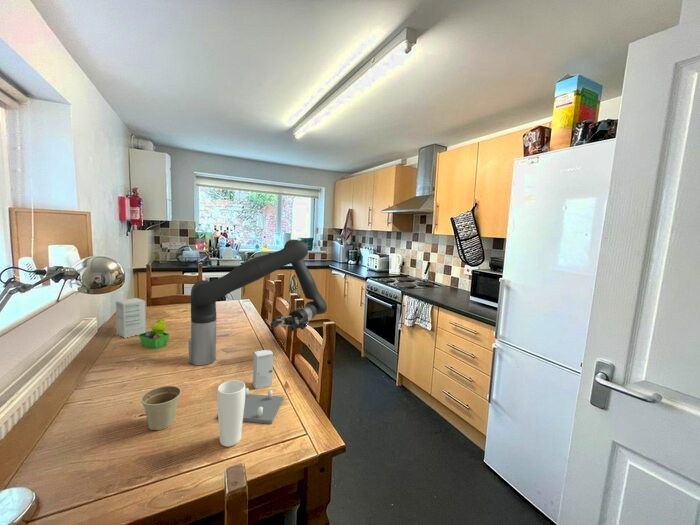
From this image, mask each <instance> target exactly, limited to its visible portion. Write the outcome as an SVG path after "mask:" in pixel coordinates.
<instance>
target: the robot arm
mask: <svg viewBox="0 0 700 525" xmlns="http://www.w3.org/2000/svg"><path fill="white" fill-rule="evenodd" d="M308 252H309V247H308V245H307V243H305V242H304V241H303V240H299V239H289V240H287V241H286V242H285V243H284V246H283V248H281V249H280V250H277V251H275V252H271V253H267V254H263V255H259V256H256V257H254V258H253V257H252V259H249V260H247V261H244V262H243V263H240V264H239V265H237V266H236V267H235V268H233V269H231V270H230V271H229V272H228V273H225V274H224V275H223V276H221V277H219V278H216V279H214V280H211V281H209V280H204V279H202V280H198V281H197V282H195V283H194V284H193V285H192V287H191V290H190V339H188V363H190V364H192V365H194V366H205V365H209V364H212V363H214V362H215V361H216V359H217V304H216V303H217V301H218V300H221V299H222V298H223V297H225V296H227V295H229V294H230V293H232V292H234V291H236V290H240V289H241V288H244V287H246V286H248V285H250V284H252V283H254V282H257V281H259V280H261V279H262V278H264V277H266V276H268V275H270V274H272V273H274V272H276V271H277V270H279V269H281V268H283V267H285V266H288V265H291V267H292V268H293V270H294V272H295V275H296V277H297V279H298V282H299V284H300V288H301V290H302V294H303V295H304V298H305V299H306V300H310V301H307V302H306V303H305V305H303V306H304V308H303V306H301V307H302V308H300V307H297V308H296V309H294V310H292V311H291V312H289V314H288V315H287V316H283V315H277V316H276V317H273V318H272V322H271V323H270V328H271V329H275V328H277V327H279V326H281V327H285V326H286V327H287V326H289V331H290V332H294V331H297V330H305V328H307V327H308V326H309V322H310V320H312V319H314V318H315V317H316V316H317V315H323V314H325V313H326V312H327V311H328V304H327V301H326V300H325V298H324V297H323V296H322V294H321V293H320V291H319V290H318V287H317V284H316V282H315V279H314V277H313V275H312V274H311V271H310V270H309V269H308V267H307V265H306V263H305V260H304V258H306V257H307V255H308ZM306 324H307V325H308V326H307V325H306Z"/></svg>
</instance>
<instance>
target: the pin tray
mask: <svg viewBox="0 0 700 525" xmlns="http://www.w3.org/2000/svg"><path fill="white" fill-rule="evenodd" d="M249 391H250V390H249V387H245V406H244V415H243V422H248V423H260V424H269V425H270V424H273V422H274V420H275V418H276V416H277V414H278V412H279V410H280V408H281V405H282V404H283V402H284V396H278V395H276V396H275V395H273V394H274V393H273V391H274V390H272V389H269V390H267V394H265V395H264V394H254V393H249Z"/></svg>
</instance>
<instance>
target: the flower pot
mask: <svg viewBox="0 0 700 525" xmlns="http://www.w3.org/2000/svg"><path fill="white" fill-rule="evenodd" d="M181 394H182V389H181V388H180V387H179V386H177V385H163V386H158V387H155V388H152V389H150V390H148V391H147V392H144V394H143V395H142V396H141V398H140V403H141V404H142V405H143V407H144V410H145V415H146V422H147V428H148V429H149V430H151V431H161V430H164V429H168V428H169V427H171V426H172V424H173V423H174V422H175V419H176V414H177V408H178V401H179V399H180V396H181Z"/></svg>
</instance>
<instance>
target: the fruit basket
mask: <svg viewBox="0 0 700 525" xmlns="http://www.w3.org/2000/svg"><path fill="white" fill-rule="evenodd" d="M166 325H167V323H166V321H165V319H162V318H161V319H160V318H159V319H158V320H157V321H156V323H153V325H151V329H152V330H150V331H149V330H148V331H146V333H142V334H139V335H137V336H138V338H139V339H140V342H141V346H143V345H145V346H144V347H147V348H150V349H153V348H154V349H153V350H156V349H159V348H163V347H165V346H167V345H168V340H169V337H170V336H171V334H170V333H167V332H165V331H166V329H167V328H166V327H167V326H166Z"/></svg>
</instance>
